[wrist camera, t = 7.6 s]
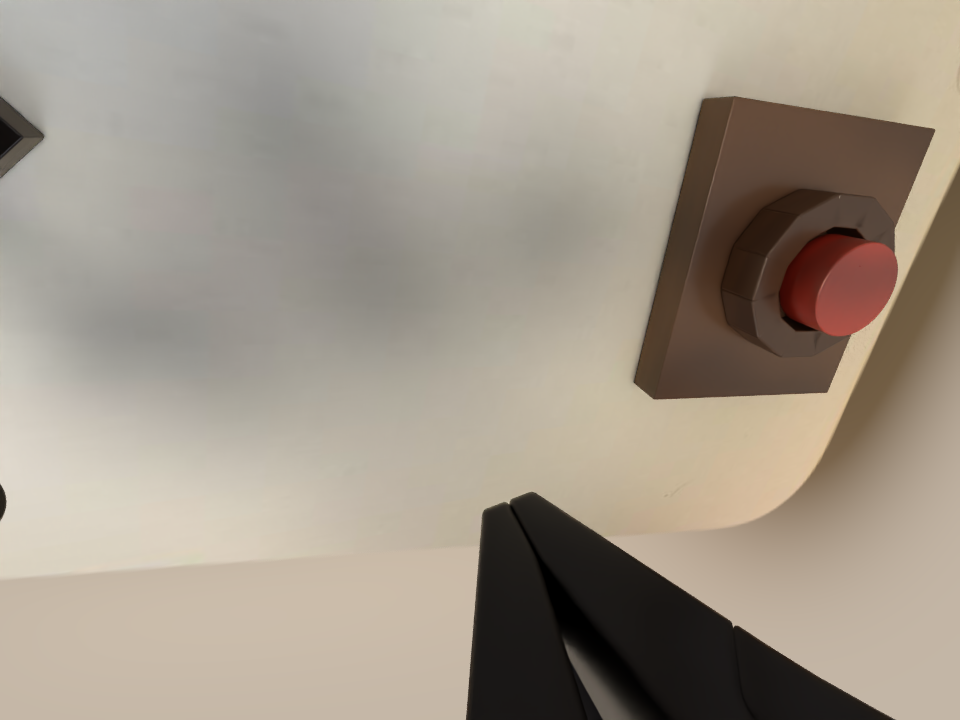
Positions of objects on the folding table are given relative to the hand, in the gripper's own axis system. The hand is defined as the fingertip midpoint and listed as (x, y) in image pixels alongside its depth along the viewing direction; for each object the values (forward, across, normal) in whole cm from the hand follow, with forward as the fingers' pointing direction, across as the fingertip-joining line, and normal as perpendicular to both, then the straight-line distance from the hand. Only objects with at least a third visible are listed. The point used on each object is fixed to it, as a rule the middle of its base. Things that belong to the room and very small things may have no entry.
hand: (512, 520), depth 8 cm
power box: (+13, -16, +4) cm, 21 cm away
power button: (+10, -16, +4) cm, 19 cm away
